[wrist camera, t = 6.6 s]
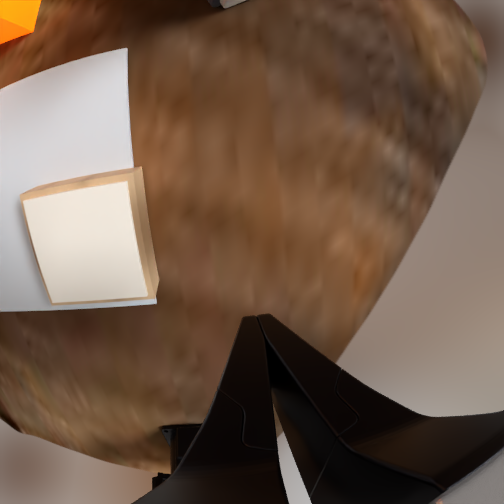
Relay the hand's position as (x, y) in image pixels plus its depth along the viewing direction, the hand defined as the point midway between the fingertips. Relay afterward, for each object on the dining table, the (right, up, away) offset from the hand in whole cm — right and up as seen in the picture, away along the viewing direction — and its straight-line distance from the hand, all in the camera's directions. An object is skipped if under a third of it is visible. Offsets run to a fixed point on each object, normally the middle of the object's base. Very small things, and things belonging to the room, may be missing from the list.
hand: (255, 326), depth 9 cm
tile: (-7, +3, +9) cm, 11 cm away
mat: (-15, +6, +8) cm, 18 cm away
